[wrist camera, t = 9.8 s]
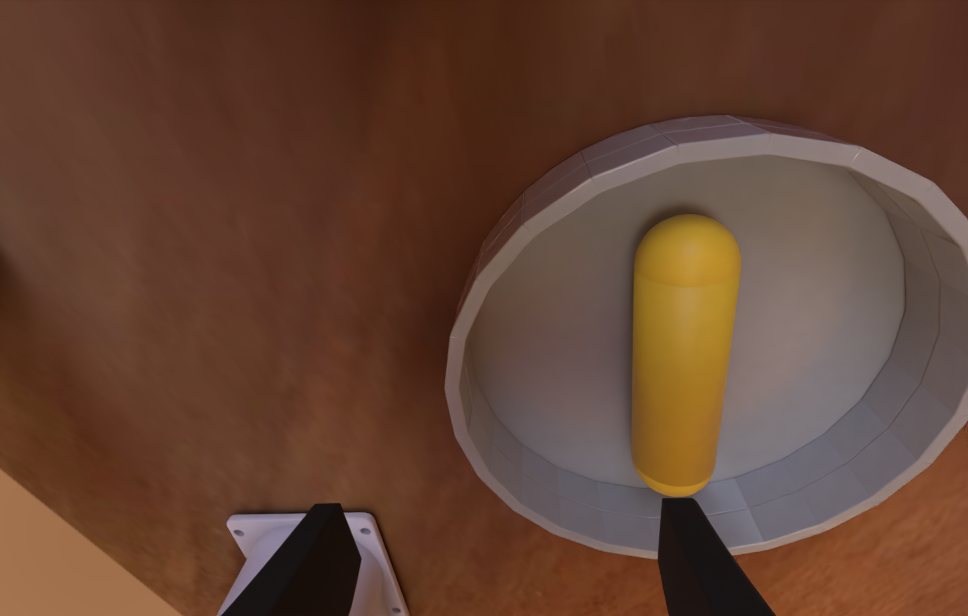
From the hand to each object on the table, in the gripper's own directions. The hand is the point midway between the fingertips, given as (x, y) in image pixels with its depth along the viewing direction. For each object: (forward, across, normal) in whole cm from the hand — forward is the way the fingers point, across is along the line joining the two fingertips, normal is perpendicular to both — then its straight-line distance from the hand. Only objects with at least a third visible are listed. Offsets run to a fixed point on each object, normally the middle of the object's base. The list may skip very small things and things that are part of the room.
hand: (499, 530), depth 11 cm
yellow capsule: (+8, -6, +1) cm, 10 cm away
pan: (+9, -6, +1) cm, 11 cm away
